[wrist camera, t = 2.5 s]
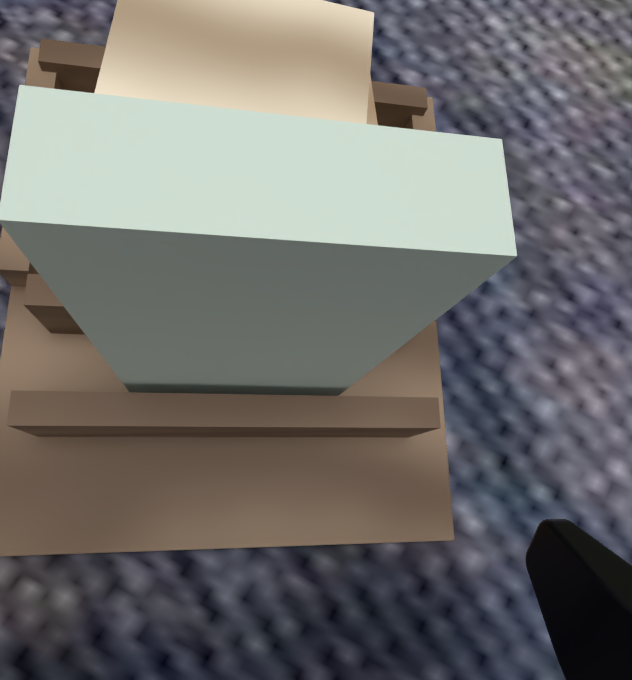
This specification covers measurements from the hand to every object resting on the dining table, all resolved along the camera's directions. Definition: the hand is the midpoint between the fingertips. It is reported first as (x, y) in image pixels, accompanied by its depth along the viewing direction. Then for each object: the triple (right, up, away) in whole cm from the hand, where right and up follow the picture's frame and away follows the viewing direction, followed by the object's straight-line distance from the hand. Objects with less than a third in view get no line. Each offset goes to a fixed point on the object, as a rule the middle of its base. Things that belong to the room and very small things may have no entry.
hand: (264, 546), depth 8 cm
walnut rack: (-2, +4, +13) cm, 14 cm away
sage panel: (-2, +2, +12) cm, 12 cm away
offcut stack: (-2, +9, +14) cm, 17 cm away
